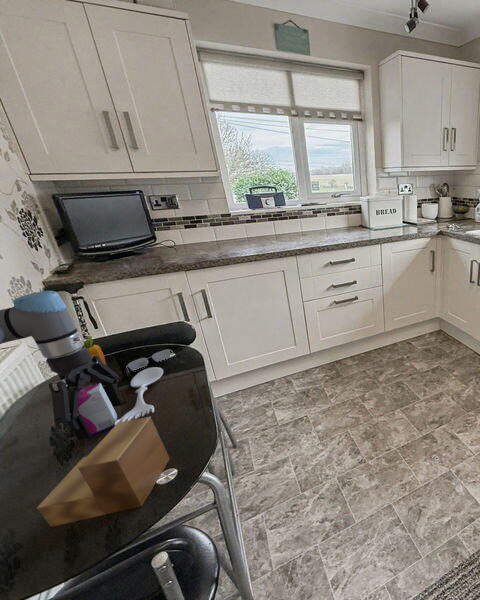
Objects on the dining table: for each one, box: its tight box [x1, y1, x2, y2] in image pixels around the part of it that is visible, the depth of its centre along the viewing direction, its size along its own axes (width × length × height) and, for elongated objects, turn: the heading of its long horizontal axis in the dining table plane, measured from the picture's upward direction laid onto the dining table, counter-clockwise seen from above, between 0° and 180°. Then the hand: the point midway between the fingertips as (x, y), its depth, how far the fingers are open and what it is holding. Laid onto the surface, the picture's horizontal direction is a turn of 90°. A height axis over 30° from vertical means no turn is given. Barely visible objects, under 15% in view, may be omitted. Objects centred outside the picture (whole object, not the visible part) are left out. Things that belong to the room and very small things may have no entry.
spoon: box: [115, 366, 164, 425], centre depth 100 cm, size 9×32×4 cm, turn 32°
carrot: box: [83, 335, 107, 366], centre depth 115 cm, size 5×5×15 cm
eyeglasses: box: [125, 349, 179, 379], centre depth 117 cm, size 14×8×4 cm, turn 136°
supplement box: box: [77, 383, 119, 437], centre depth 88 cm, size 6×6×12 cm
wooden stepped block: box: [36, 416, 171, 528], centre depth 67 cm, size 16×12×12 cm
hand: (102, 420), depth 89 cm, fingers open, 12 cm apart
